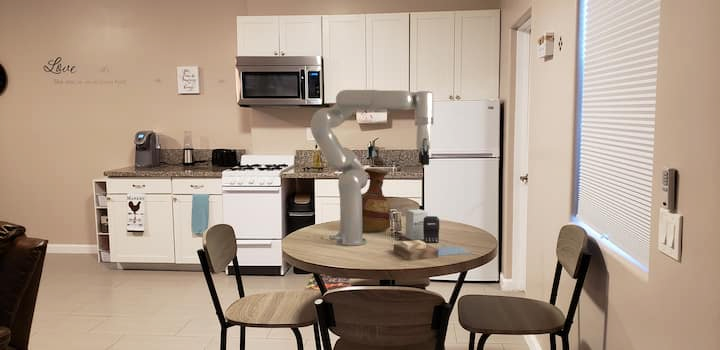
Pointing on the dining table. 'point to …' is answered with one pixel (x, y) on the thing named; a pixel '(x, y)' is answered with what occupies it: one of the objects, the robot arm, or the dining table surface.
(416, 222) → the supplement box
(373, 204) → the brown vase
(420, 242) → the birch slab
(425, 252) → the walnut block
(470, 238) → the dining table surface
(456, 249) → the rubber mat
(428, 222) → the battery
